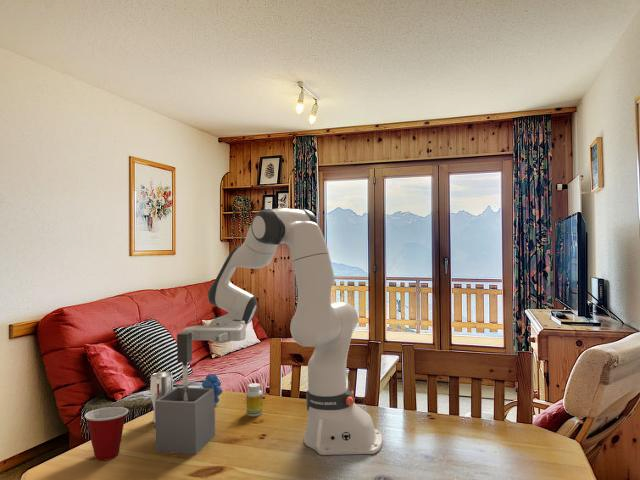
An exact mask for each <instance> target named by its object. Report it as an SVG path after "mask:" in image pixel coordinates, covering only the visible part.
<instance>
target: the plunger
mask: <svg viewBox="0 0 640 480" xmlns="http://www.w3.org/2000/svg"><path fill="white" fill-rule="evenodd" d="M176 349H177V352H176V353H177V357H176V358H177V360H176V361H177V363H182V387H183V401H184V402H194V401H188V388H189V376H188V374H189V373H188V371H189V366H188V365H189V362H191V361H193V341H192V332H183V331H181V332H180V333H177V334H176ZM179 401H180V400H179Z"/></svg>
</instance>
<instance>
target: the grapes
mask: <svg viewBox="0 0 640 480" xmlns="http://www.w3.org/2000/svg"><path fill="white" fill-rule="evenodd" d="M204 379H205V380H204V381H202V383H201V386H202V387H201V388H209V389H214V407H215V405H216V404H218V403H219V402H220V398H219V397H220V395H221V394H222V393H223V388H222V387H220V386H221V384H222V383H221V381H220V380H219V377H218V376H217V374H216V373H212V374H211V373H210V374H209V373H208V374H207V375H206V376H205V378H204Z"/></svg>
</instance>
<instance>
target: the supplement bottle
mask: <svg viewBox="0 0 640 480" xmlns="http://www.w3.org/2000/svg"><path fill="white" fill-rule="evenodd" d="M247 385H248V386H247V389H248V390H247V391H246V394H245V395H246V398H245V399H246V415H247V416H250V417H258V416H261V415H262V414H263V407H264V406H263V400H264V399H263V391H262V390H261V384H260V383H258V382H253V383H249V384H247Z"/></svg>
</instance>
